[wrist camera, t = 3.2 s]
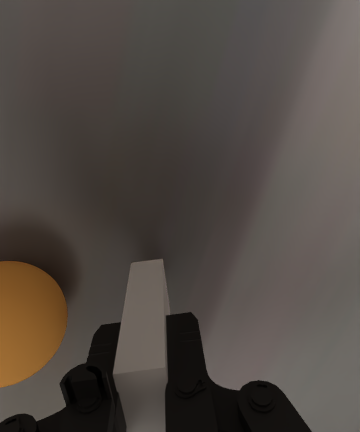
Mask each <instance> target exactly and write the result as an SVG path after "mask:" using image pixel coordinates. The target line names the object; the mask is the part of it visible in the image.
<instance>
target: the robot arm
mask: <svg viewBox="0 0 360 432" xmlns="http://www.w3.org/2000/svg"><path fill="white" fill-rule="evenodd" d="M60 387H61V390H62V393H63V396H64V400H65V403H66V407H65V408H64V409H62V410H61V411H59V412H57V413H55V414H53V415H51V416H48V417H46V418H44V419H41V420H39V421H37V422H36V420H35V419H34V418H33V416H31V415H28V414H17V415H14V416H12V417H9V418H7V419H5V420H4V421H3V422H1V423H0V432H126V431H127V432H312V431H311V430H310V429H309V427H308V426H307V424H306V423H305V422H304V420H303V419H302V418H301V416H300V415H299V413H298V412H297V411H296V409H295V408H294V406H293V405H292V404H291V402H290V401H289V400H288V398H287V397H286V395H285V394H284V393H283V392H282V391H281V390H280V389H279V388H278V387H277V386H276V385H274V384H272V383H270V382H267V381H260V380H258V381H252V382H249V383H247V384H245V385H244V386H243V387H242V388H241V389H240V391H237V390H231V389H227V388H223V387H221V386H219V385H217V384H215V383H214V382H213V381H212V380H211V379H210V377H209V376H208V373H207V370H206V364H205V359H204V353H203V347H202V341H201V336H200V330H199V324H198V320H197V318H196V317H195V316H194V315H193V314H192V313H191V312H188V313H181V314H173V315H170V305H169V298H168V292H167V285H166V278H165V271H164V264H163V259H156V260H149V261H141V262H133V263H131V266H130V272H129V278H128V284H127V290H126V296H125V303H124V309H123V315H122V321H121V322H119V323H112V324H104V325H101V326H100V327H99V329H98V330H97V331H96V332H95V334H94V336H93V339H92V343H91V347H90V350H89V356H88V358H87V362H86V363H85V364H81V365H78V366H76V367H75V368H73V369H71V370H70V371H69V372H68V373H67V374H66V375H65V376H64V377H63V379H62V380H61V382H60Z"/></svg>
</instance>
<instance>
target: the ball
mask: <svg viewBox="0 0 360 432" xmlns="http://www.w3.org/2000/svg"><path fill="white" fill-rule="evenodd" d="M67 317H68V313H67V304H66V300H65V297H64V295H63V292H62V290H61V289H60V287H59V285H58V284H57V283H56V281H55V280H54V279H53V278H52V277H51V276H50V275H48V274H47V273H46V272H45V271H43V270H41V269H40V268H38V267H36V266H33V265H30V264H27V263H23V262H18V261H0V388H1V387H6V386H10V385H13V384H16V383H18V382H20V381H23V380H25V379H27V378H29V377H30V376H32V375H33V374H35V373H36V372H38V371H39V370H40V369H41V368H42V367H43V366H45V365H46V364H47V363H48V361H49V360H50V359H51V358H52V357H53V355H54V354H55V353H56V351H57V349H58V348H59V346H60V344H61V342H62V340H63V337H64V334H65V331H66V327H67Z"/></svg>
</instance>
